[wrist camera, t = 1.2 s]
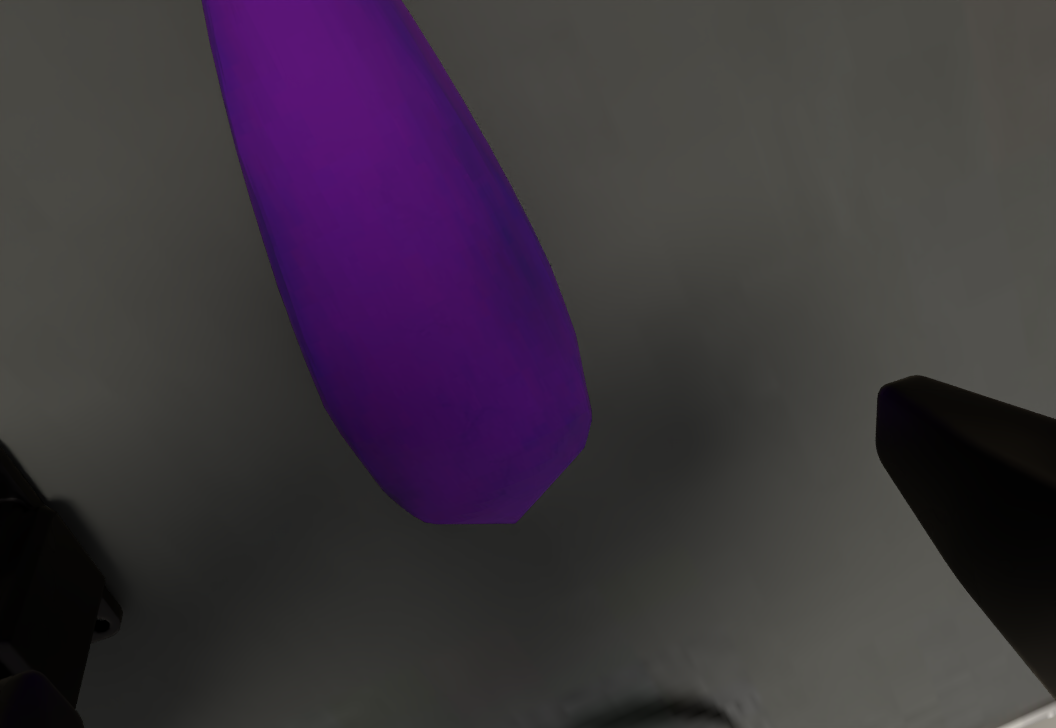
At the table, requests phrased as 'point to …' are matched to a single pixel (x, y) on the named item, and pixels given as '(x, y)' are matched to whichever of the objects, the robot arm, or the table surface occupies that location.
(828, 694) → the table surface
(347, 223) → the purple long tapered piece
